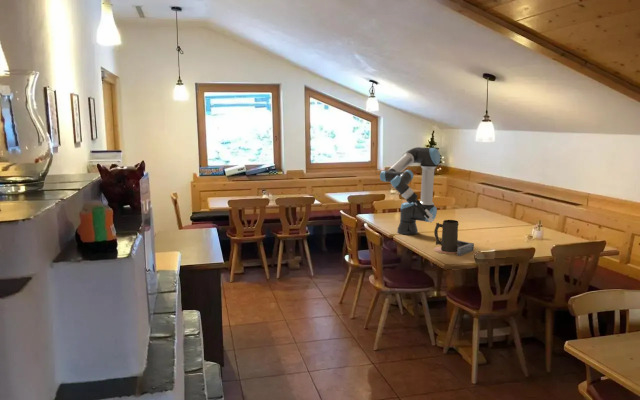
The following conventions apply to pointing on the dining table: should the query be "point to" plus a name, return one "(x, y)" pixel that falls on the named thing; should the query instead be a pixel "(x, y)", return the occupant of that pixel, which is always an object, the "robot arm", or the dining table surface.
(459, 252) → the wall corner
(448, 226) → the beer stein
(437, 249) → the terracotta mat
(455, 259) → the dining table surface
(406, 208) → the robot arm
